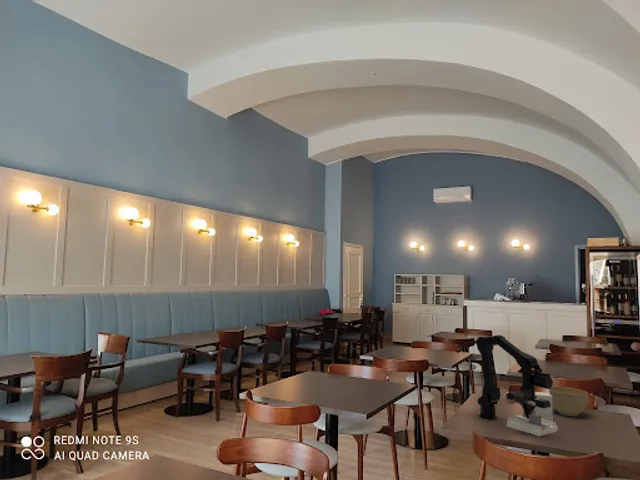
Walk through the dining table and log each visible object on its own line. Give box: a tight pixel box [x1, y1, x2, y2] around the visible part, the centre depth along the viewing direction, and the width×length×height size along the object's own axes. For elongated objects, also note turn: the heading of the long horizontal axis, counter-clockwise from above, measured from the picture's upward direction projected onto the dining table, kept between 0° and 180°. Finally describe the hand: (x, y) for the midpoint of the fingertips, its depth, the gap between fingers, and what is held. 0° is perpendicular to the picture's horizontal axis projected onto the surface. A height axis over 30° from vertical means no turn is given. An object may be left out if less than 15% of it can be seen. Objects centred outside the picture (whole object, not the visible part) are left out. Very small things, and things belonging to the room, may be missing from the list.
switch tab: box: [529, 414, 541, 426], centre depth 215 cm, size 4×3×5 cm
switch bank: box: [506, 413, 559, 437], centre depth 220 cm, size 16×15×4 cm
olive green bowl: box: [548, 386, 589, 417], centre depth 247 cm, size 18×18×12 cm
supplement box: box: [534, 391, 554, 422], centre depth 235 cm, size 7×7×13 cm
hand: (527, 418), depth 218 cm, fingers closed
